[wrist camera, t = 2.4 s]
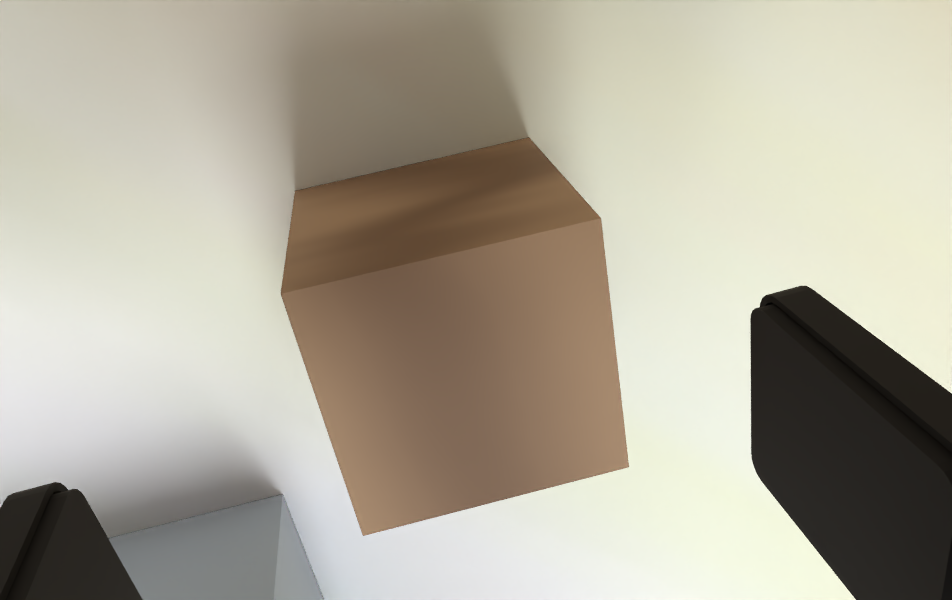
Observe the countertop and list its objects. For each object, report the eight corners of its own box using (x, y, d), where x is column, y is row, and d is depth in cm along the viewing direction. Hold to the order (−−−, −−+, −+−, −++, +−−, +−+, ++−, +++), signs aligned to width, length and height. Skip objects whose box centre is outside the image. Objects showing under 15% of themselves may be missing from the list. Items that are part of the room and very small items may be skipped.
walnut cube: (528, 136, 16) (601, 218, 12) (558, 336, 19) (629, 467, 14) (295, 189, 16) (280, 293, 12) (355, 386, 18) (363, 535, 14)
